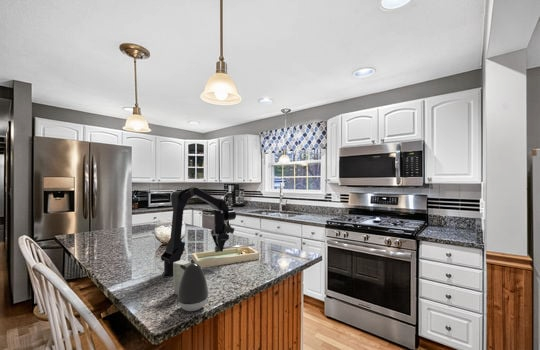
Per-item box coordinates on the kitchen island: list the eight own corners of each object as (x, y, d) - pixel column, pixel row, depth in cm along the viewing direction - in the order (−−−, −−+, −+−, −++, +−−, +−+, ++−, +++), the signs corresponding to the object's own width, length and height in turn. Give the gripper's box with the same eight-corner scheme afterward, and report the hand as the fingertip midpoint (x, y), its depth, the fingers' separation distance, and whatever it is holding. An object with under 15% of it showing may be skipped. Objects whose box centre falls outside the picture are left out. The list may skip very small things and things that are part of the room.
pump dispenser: (189, 299, 94) (189, 258, 94) (213, 302, 91) (213, 260, 91) (170, 312, 84) (170, 266, 84) (197, 317, 81) (197, 269, 81)
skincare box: (192, 292, 99) (192, 261, 100) (183, 297, 96) (183, 264, 96) (182, 289, 103) (182, 259, 103) (172, 293, 99) (172, 262, 99)
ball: (243, 257, 146) (249, 255, 147) (242, 252, 146) (247, 250, 147) (241, 256, 149) (247, 254, 151) (240, 250, 149) (245, 248, 150)
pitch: (259, 259, 142) (259, 252, 142) (197, 268, 128) (197, 261, 128) (249, 252, 157) (248, 246, 157) (192, 259, 142) (192, 253, 143)
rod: (255, 253, 149) (255, 242, 150) (215, 258, 139) (215, 247, 140) (253, 251, 152) (253, 241, 152) (214, 257, 142) (214, 246, 142)
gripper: (238, 222, 137) (238, 251, 137) (228, 218, 154) (228, 244, 154) (217, 224, 133) (218, 254, 132) (210, 220, 150) (210, 246, 149)
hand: (219, 249), depth 142 cm, fingers open, 9 cm apart
